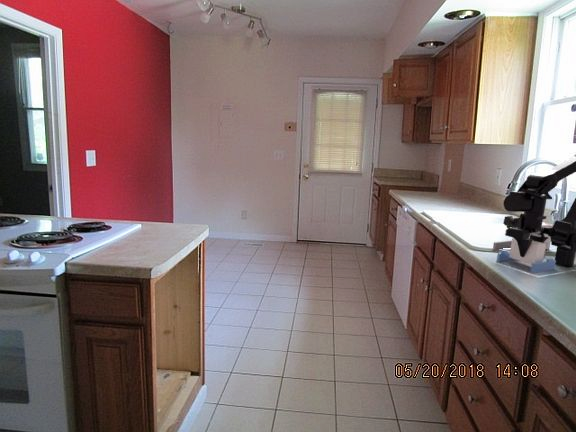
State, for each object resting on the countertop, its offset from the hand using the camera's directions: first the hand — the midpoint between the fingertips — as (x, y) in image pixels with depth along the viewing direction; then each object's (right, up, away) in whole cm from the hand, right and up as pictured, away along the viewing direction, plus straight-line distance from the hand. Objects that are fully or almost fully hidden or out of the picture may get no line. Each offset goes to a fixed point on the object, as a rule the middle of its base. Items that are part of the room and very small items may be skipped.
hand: (526, 256), depth 135 cm
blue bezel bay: (0, -4, +1) cm, 4 cm away
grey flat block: (+6, -1, +16) cm, 17 cm away
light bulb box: (+19, +1, +28) cm, 34 cm away
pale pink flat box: (0, -2, 0) cm, 2 cm away
